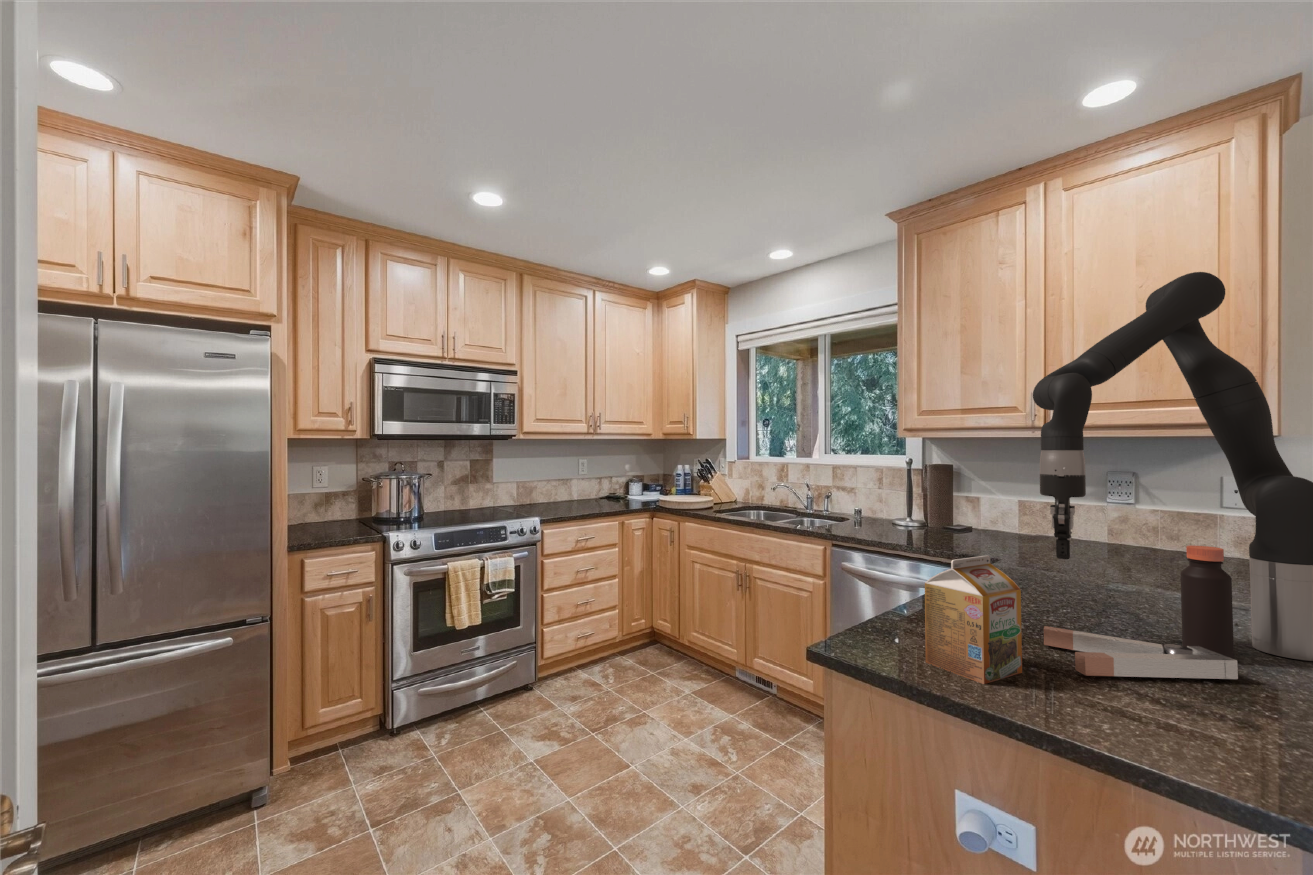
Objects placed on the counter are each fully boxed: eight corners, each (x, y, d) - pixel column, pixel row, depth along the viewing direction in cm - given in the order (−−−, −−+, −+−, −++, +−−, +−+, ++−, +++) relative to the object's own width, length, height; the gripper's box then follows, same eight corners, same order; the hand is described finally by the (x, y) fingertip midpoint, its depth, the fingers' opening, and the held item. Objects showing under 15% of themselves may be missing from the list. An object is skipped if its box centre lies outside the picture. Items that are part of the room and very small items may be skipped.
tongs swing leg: (1191, 666, 96) (1191, 647, 96) (1194, 673, 93) (1194, 652, 93) (1045, 641, 109) (1044, 624, 109) (1043, 646, 106) (1043, 628, 106)
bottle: (1219, 652, 104) (1216, 545, 105) (1244, 665, 98) (1240, 551, 98) (1174, 648, 106) (1171, 543, 107) (1195, 660, 100) (1192, 549, 101)
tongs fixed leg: (1199, 663, 97) (1198, 646, 97) (1237, 679, 90) (1237, 660, 90) (1058, 660, 98) (1057, 643, 98) (1085, 675, 91) (1085, 657, 92)
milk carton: (984, 684, 89) (982, 565, 90) (925, 662, 99) (924, 555, 99) (1022, 672, 94) (1020, 560, 95) (963, 653, 104) (961, 550, 104)
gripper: (1042, 471, 120) (1043, 552, 120) (1037, 473, 110) (1038, 561, 109) (1085, 472, 115) (1087, 556, 115) (1085, 474, 105) (1086, 566, 105)
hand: (1063, 558), depth 112 cm, fingers closed
